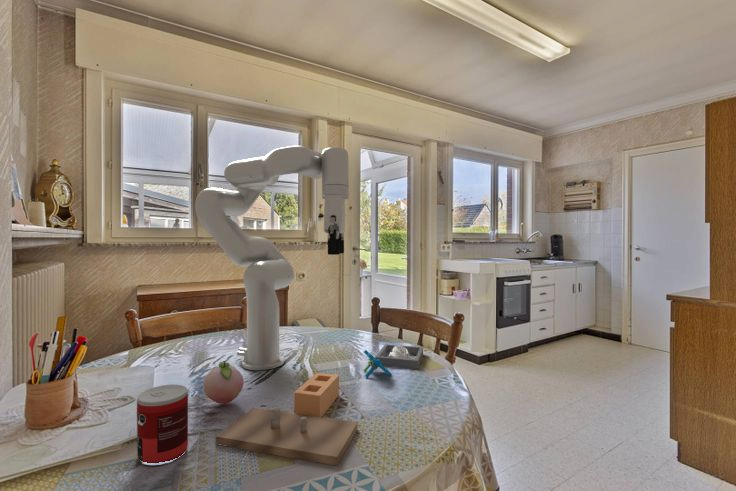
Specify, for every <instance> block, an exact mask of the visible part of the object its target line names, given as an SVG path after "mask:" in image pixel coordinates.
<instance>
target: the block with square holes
mask: <svg viewBox="0 0 736 491" xmlns="http://www.w3.org/2000/svg"><path fill="white" fill-rule="evenodd" d="M339 386H340V375H339V374H331V373H325V372H324V373H323V372H322V373H321V372H315V373H314V374H312V376H311V377H309V379H307V380H306V381H305V382H304V383H303V384H302V385H301V386H300V387H299V388H297V389H296V390H295V391H294V392H293V395H294V396H293V397H294V399H293V402H294V404H293V406H294V408H293V409H294V410H293V413H296V414H303V415H310V416H317V417H324V415H325V413H326V412H327V411H328V409H329V408H330V407H331V406H332V405H333V404H334V402H335V401H336V400H337V398H338V397H339V396H340V387H339Z"/></svg>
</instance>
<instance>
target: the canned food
mask: <svg viewBox="0 0 736 491" xmlns="http://www.w3.org/2000/svg"><path fill="white" fill-rule="evenodd" d="M188 392H189V391H188V388H187V387H186V386H185V385H182V384H181V385H180V384H166V385H165V384H164V385H163V384H162V385H158V386H154V387H152V388H148V389H146V390H144V391H142V392H141V393H140V394H138V396H137V399H136V437H137V438H136V439H137V441H136V442H137V443H136V444H137V445H136V448H137V449H136V450H137V451H136V452H137V453H136V454H137V455H136V456H137V459H138V458H139V459H140V460H141V461H143V462H147V463H159V462H165V461H170V460H173V459H175V458H178V457H179V456H181V455H182V454H183V453H184V452H185V451H186V452H187V448H188V445H189V397H188V396H189V394H188ZM186 452H185V453H186ZM185 453H184V454H185ZM184 454H183V455H184ZM183 455H182V456H183ZM182 456H181V457H182ZM139 459H138V460H139ZM178 459H179V458H178Z"/></svg>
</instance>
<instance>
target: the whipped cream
mask: <svg viewBox="0 0 736 491" xmlns="http://www.w3.org/2000/svg"><path fill="white" fill-rule="evenodd" d="M392 351H393V352H390V353H389V355H388V357H394V358H405V359H411V357H410V356H411V354H409V353H408V351H407V349H406V348H404V347H402V346H395V347H394V348H393V350H392Z"/></svg>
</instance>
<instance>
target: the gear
mask: <svg viewBox="0 0 736 491" xmlns="http://www.w3.org/2000/svg"><path fill="white" fill-rule="evenodd" d="M363 353H364V354H365V356H367V357H368V360H369V361H368V362H367V365H366V366H365V368H364V369H363V372H364V373H365V374H364V377H365V378H366V379H369V377H370V376H371V375H372V373H373V372H374V371H376V370H377V369H378V368H379V369H380V370H382V371H383V372H384V373H385V374H386V375H387V376H388V377H391V376H393V374H392V373H391V372H390V370H389V369H387V368H386V366H383V365H382V364H381V363H380V362H381V361H380V360H379V359H378V360H377V359H376V358H375V357H376V356H375V357H374V355H372V354H371V353H370V352H369V351H368V350H366V349H364V350H363Z"/></svg>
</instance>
